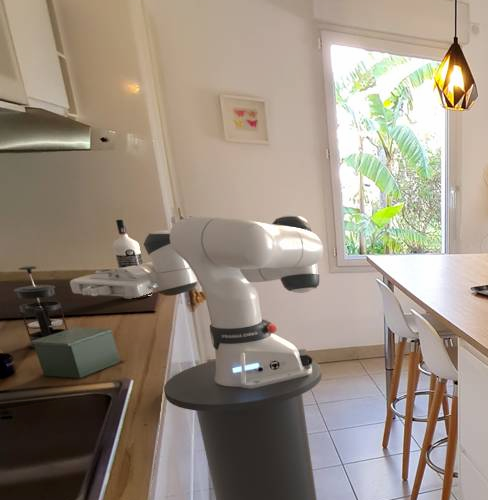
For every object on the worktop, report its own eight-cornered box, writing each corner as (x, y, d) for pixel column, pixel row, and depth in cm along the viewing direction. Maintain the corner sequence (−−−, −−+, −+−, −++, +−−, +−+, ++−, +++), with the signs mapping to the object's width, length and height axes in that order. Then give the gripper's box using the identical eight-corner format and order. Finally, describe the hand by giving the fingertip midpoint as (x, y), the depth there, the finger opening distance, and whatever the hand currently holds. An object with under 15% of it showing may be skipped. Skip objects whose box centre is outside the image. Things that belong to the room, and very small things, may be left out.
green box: (80, 378, 140) (70, 345, 137) (43, 375, 141) (33, 343, 138) (120, 362, 151) (112, 331, 148) (86, 359, 152) (77, 329, 149)
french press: (32, 341, 165) (7, 265, 156) (72, 336, 170) (50, 262, 162) (29, 352, 156) (3, 271, 148) (71, 346, 162) (48, 269, 153)
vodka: (151, 293, 226) (133, 218, 215) (153, 297, 219) (135, 220, 208) (123, 296, 220) (103, 218, 209) (125, 300, 213) (105, 221, 202)
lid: (68, 346, 136) (67, 343, 136) (30, 343, 137) (30, 341, 137) (112, 331, 148) (111, 329, 148) (77, 329, 149) (76, 326, 149)
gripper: (164, 295, 159) (125, 306, 146) (100, 291, 161) (56, 302, 148) (159, 273, 156) (119, 283, 144) (94, 270, 158) (49, 279, 145)
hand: (87, 292), depth 146 cm, fingers closed
